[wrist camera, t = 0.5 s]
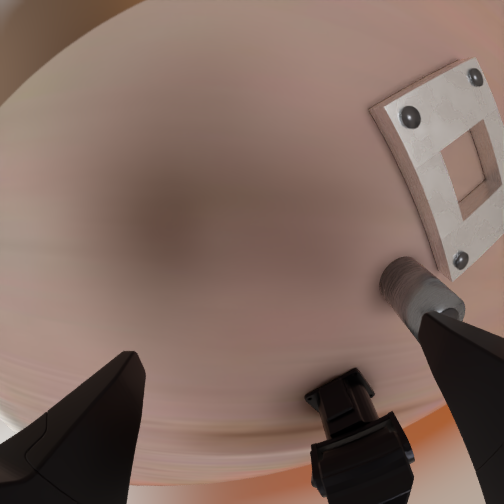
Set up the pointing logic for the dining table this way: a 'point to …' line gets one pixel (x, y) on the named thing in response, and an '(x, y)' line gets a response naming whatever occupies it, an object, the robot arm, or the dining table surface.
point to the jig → (432, 164)
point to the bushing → (417, 293)
